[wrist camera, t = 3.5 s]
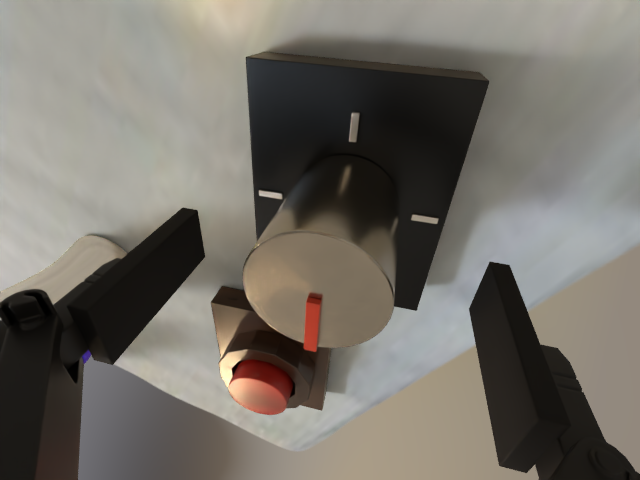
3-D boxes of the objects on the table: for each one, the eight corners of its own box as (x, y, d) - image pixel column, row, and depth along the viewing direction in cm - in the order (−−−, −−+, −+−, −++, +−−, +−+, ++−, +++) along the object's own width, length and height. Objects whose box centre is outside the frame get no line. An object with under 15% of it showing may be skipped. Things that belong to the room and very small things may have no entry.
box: (221, 286, 29) (197, 320, 26) (336, 309, 27) (326, 349, 24) (234, 369, 36) (216, 405, 33) (326, 391, 34) (317, 431, 31)
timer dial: (294, 147, 18) (231, 222, 11) (410, 162, 17) (410, 253, 11) (293, 240, 21) (244, 336, 15) (389, 257, 20) (379, 367, 14)
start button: (234, 352, 28) (224, 371, 26) (293, 366, 27) (287, 387, 25) (239, 387, 30) (230, 406, 29) (293, 400, 30) (286, 420, 28)
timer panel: (264, 51, 18) (243, 57, 16) (480, 72, 16) (490, 81, 14) (270, 258, 26) (258, 281, 24) (416, 286, 24) (416, 312, 22)
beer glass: (99, 218, 28) (-144, 381, 15) (158, 280, 30) (-10, 460, 18) (58, 245, 31) (-173, 399, 19) (114, 299, 33) (-54, 463, 21)
